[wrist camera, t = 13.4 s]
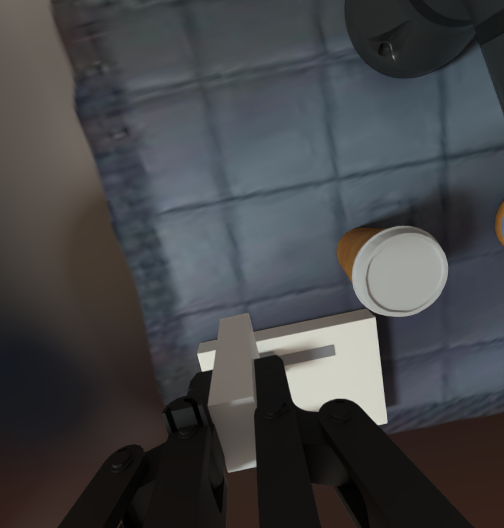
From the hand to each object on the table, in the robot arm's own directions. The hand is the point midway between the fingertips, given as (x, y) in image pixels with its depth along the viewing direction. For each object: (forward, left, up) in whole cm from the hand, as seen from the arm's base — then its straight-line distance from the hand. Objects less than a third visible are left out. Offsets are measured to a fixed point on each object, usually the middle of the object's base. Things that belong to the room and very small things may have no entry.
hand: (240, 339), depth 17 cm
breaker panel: (-4, +21, -26) cm, 34 cm away
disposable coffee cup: (-16, +4, -26) cm, 31 cm away
